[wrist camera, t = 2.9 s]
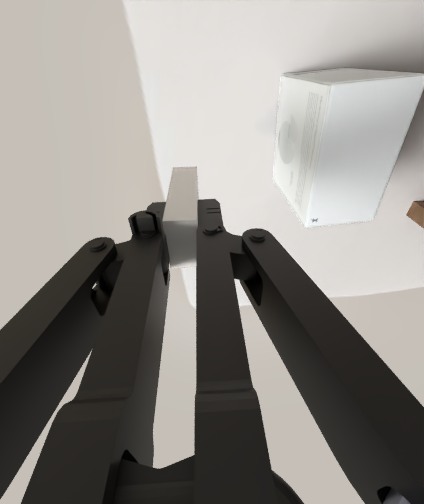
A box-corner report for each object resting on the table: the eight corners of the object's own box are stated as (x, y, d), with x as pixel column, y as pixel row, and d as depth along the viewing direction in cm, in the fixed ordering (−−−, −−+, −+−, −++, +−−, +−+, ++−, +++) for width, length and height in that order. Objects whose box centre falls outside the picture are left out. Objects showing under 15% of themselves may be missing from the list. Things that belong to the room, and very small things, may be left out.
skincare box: (326, 175, 29) (376, 223, 21) (271, 181, 29) (300, 230, 21) (350, 65, 22) (437, 72, 14) (279, 72, 23) (326, 83, 14)
